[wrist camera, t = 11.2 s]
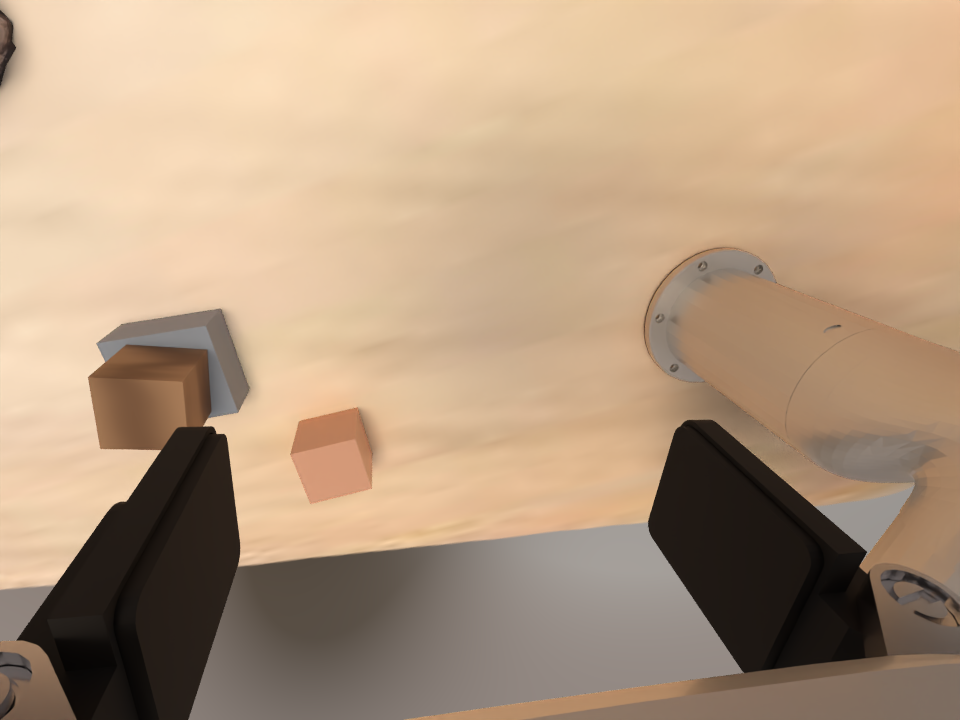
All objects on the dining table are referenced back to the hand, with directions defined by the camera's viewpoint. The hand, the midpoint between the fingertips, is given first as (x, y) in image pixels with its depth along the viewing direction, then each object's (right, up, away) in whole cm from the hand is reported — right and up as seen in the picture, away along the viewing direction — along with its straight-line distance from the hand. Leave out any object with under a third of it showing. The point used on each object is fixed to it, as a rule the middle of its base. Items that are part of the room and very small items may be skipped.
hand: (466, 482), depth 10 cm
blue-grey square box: (-22, +3, +28) cm, 36 cm away
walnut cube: (-22, +1, +25) cm, 33 cm away
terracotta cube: (-12, -4, +33) cm, 36 cm away
